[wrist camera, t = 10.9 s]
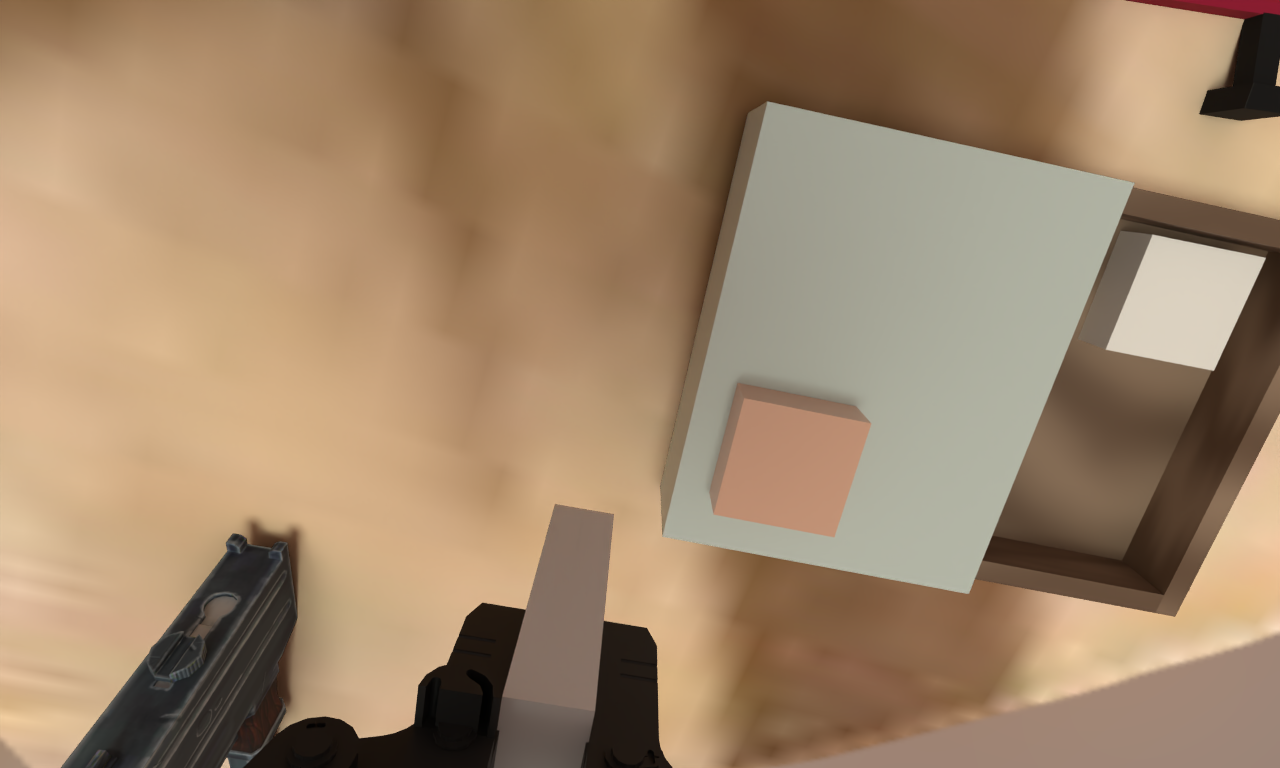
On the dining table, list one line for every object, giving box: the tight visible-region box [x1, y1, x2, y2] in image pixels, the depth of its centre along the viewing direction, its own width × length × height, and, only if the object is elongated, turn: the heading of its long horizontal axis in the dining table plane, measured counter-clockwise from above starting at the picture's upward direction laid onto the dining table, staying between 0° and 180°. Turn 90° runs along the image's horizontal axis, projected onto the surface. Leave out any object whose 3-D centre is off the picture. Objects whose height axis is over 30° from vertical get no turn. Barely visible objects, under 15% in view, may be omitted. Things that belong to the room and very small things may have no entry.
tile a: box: [1078, 231, 1266, 371], centre depth 30 cm, size 5×5×2 cm
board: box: [660, 101, 1134, 594], centre depth 30 cm, size 18×14×5 cm
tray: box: [975, 188, 1280, 617], centre depth 31 cm, size 18×11×4 cm, turn 168°
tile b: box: [709, 383, 872, 537], centre depth 28 cm, size 5×5×2 cm
